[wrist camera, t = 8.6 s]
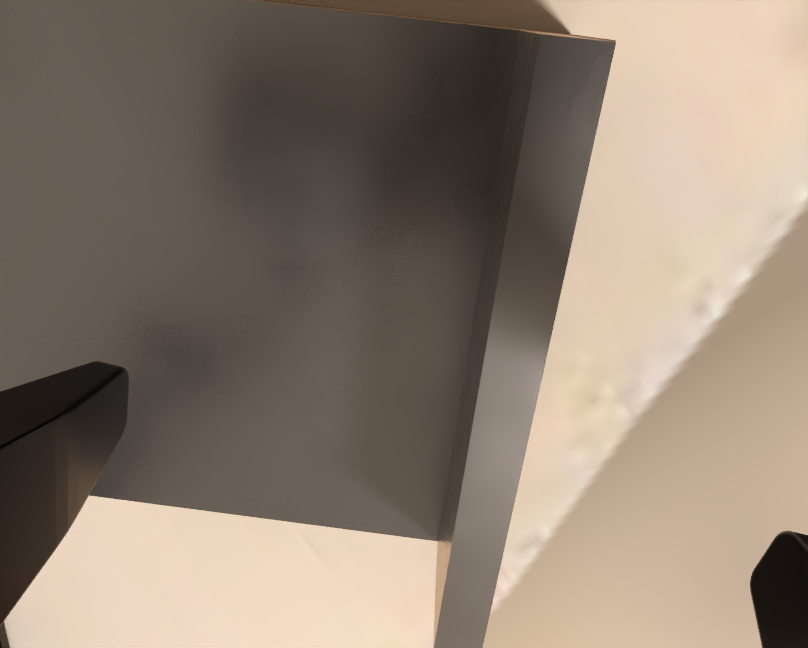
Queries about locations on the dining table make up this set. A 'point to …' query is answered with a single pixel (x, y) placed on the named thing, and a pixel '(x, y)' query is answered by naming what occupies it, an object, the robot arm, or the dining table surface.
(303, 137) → the lid
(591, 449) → the dining table surface
